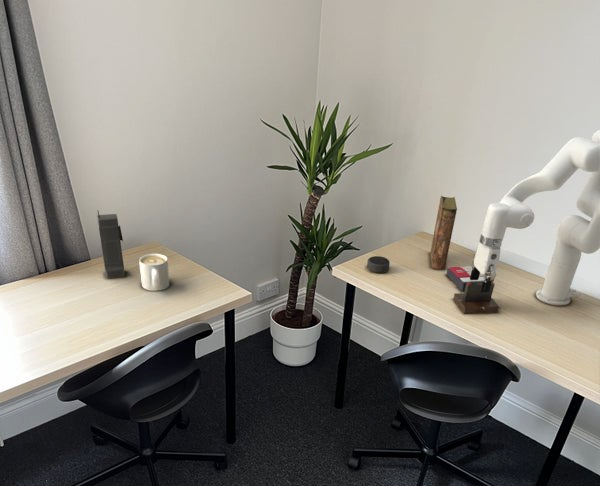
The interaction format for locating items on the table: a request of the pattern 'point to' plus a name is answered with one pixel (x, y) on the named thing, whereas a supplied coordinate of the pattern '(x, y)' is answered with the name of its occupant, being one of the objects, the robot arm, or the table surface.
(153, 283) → the coffee mug
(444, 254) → the book
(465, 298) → the grey rectangular slab
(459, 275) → the red and grey box
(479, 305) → the stand
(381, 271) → the smart speaker
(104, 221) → the portable radio
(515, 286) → the table surface
